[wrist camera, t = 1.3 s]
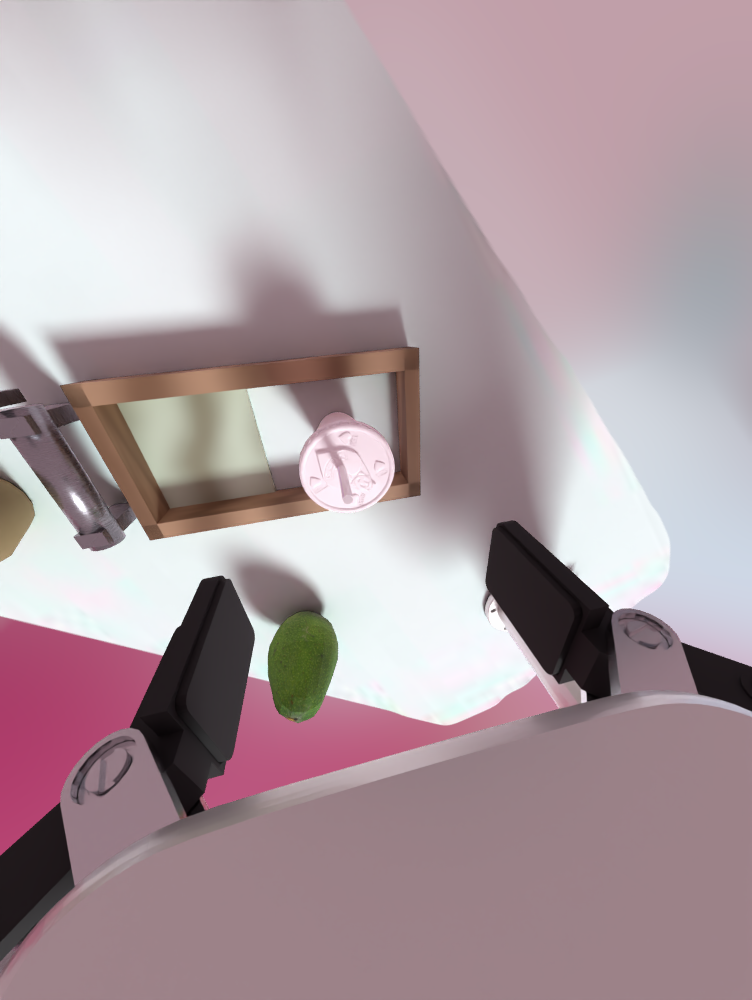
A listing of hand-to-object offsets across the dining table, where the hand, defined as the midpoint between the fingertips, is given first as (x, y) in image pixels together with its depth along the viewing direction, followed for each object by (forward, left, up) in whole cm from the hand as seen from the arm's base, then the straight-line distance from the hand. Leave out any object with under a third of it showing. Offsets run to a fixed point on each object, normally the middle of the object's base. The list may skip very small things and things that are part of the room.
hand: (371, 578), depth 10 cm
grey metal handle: (+20, 0, -20) cm, 28 cm away
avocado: (+8, +24, -20) cm, 32 cm away
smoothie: (0, 0, -20) cm, 20 cm away
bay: (+5, 0, -20) cm, 20 cm away
